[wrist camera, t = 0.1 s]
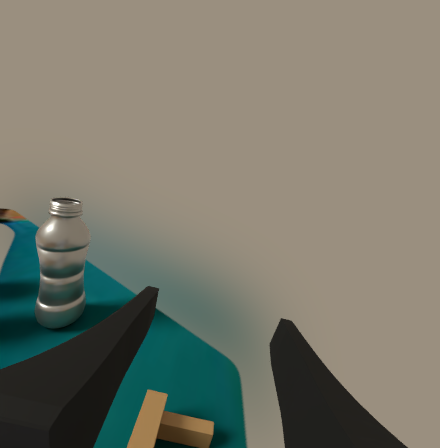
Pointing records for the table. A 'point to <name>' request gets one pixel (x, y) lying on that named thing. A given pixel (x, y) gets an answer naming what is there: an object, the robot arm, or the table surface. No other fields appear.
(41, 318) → the plastic bottle
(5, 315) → the table surface
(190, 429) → the wooden c-shaped bracket
